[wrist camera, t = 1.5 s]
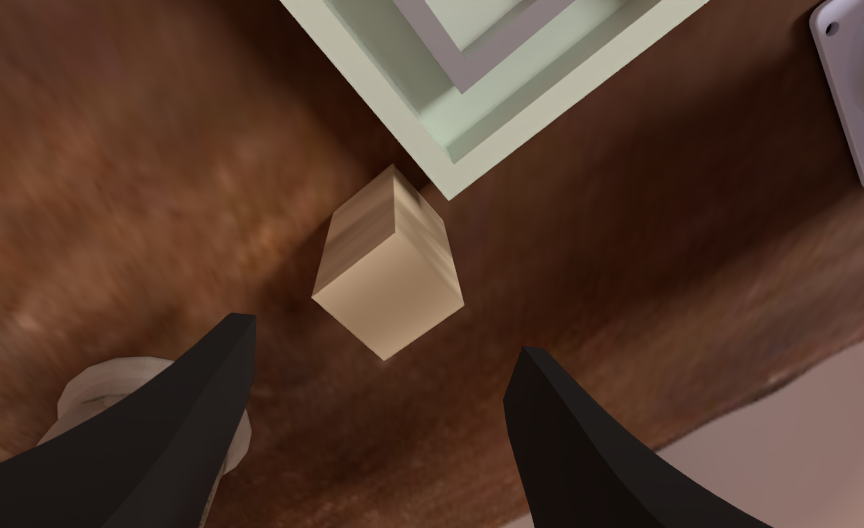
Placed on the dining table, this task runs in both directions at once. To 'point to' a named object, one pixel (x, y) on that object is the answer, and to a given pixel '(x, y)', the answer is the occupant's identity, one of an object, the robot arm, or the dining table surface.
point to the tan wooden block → (387, 266)
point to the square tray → (479, 66)
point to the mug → (115, 383)
